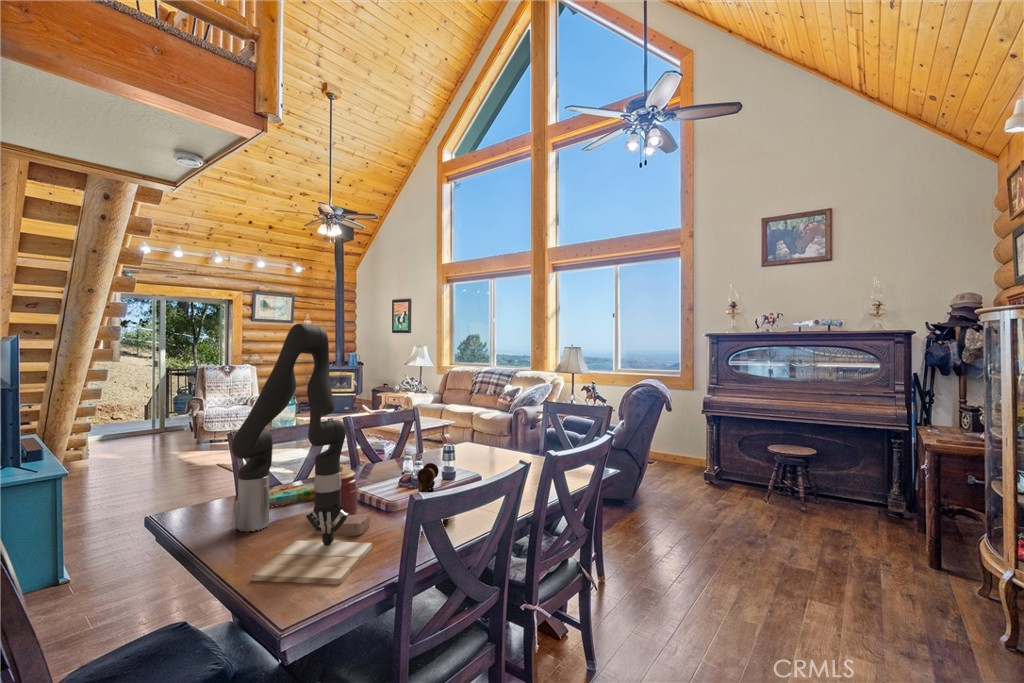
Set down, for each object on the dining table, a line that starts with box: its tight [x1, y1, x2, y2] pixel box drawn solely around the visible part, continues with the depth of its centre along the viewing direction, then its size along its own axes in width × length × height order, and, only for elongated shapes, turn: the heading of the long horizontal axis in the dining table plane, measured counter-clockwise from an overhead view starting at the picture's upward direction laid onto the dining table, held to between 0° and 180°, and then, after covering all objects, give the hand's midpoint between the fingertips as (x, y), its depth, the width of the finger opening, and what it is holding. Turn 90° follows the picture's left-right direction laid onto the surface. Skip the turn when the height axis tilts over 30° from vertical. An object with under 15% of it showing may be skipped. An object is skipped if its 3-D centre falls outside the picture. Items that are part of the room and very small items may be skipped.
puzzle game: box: [269, 482, 314, 507], centre depth 187 cm, size 12×5×20 cm
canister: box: [340, 464, 359, 515], centre depth 172 cm, size 13×13×18 cm
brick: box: [312, 513, 371, 537], centre depth 156 cm, size 17×8×5 cm, turn 85°
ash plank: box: [279, 540, 373, 563], centre depth 139 cm, size 24×9×2 cm, turn 85°
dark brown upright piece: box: [416, 462, 450, 524], centre depth 162 cm, size 15×15×20 cm
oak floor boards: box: [251, 553, 360, 585], centre depth 128 cm, size 24×12×2 cm, turn 85°
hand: (328, 544), depth 142 cm, fingers closed
